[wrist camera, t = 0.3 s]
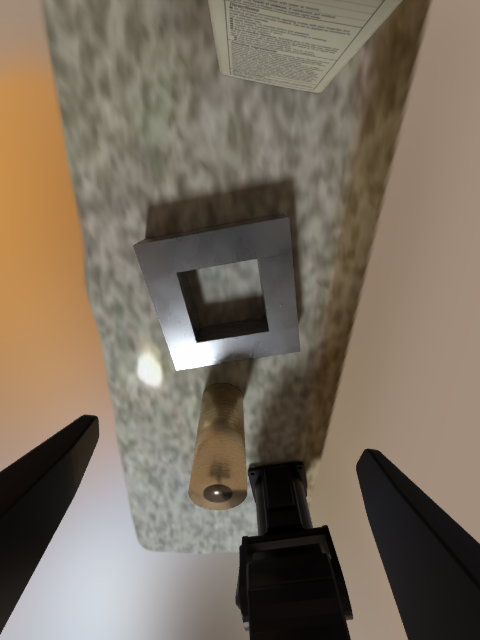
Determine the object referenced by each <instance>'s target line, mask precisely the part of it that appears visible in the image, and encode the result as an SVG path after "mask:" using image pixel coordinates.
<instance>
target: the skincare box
mask: <svg viewBox="0 0 480 640" xmlns="http://www.w3.org/2000/svg"><path fill="white" fill-rule="evenodd" d="M402 1H403V0H208V4H209V10H210V16H211V21H212V27H213V33H214V40H215V45H216V51H217V57H218V62H219V68H220V72H221V73H222V74H224V75H228V76H232V77H237V78H241V79H246V80H250V81H255V82H260V83H265V84H270V85H276V86H281V87H286V88H291V89H297V90H303V91H310V92H316V93H320V92H322V91H323V90H324V89H325V87H326V86H327V85H328V84H329V83H330V82H331V81H332V80H333V78H334V77H335V76H336V75H337V74H338V73H339V72H340V70H341V69H342V68H343V67H344V66H345V65H346V64H347V63H348V61H349V60H350V59H351V58H352V57H353V56H354V55H355V54H356V53H357V51H358V50H359V49H360V48H361V47H362V46H363V45H364V43H365V42H366V41H367V40H368V39H369V38H370V37H371V36H372V34H373V33H374V32H375V31H376V30H377V29H378V28H379V27H380V25H381V24H382V23H383V22H384V21H385V20H386V19H387V18H388V17H389V16H390V14H391V13H392V12H393V11H394V10H395V9H396V8H397V6H398V5H399V4H400V3H401V2H402Z"/></svg>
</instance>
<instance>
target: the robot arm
mask: <svg viewBox="0 0 480 640" xmlns="http://www.w3.org/2000/svg"><path fill="white" fill-rule="evenodd" d="M98 438H99V421H98V417H97V416H94V415H83V416H81V417H79V418H78V419H76V420H75V421H73V422H72V423H71V424H69V425H68V426H66V427H65V428H63V429H62V430H60V431H59V432H57V433H56V434H55V435H53V436H52V437H50V438H49V439H47V440H46V441H45V442H43V443H41V444H40V445H39V446H37V447H36V448H34V449H33V450H31V451H30V452H28V453H27V454H26V455H24V456H23V457H21V458H20V459H18V460H17V461H16V462H14V463H12V464H11V465H10V466H8V467H7V468H5V469H4V470H2V471H1V472H0V634H1V632H2V630H3V628H4V627H5V625H6V623H7V621H8V619H9V617H10V615H11V613H12V612H13V610H14V608H15V606H16V604H17V602H18V600H19V599H20V596H21V594H22V593H23V591H24V589H25V587H26V586H27V584H28V582H29V580H30V578H31V576H32V574H33V572H34V571H35V569H36V567H37V565H38V563H39V561H40V559H41V558H42V556H43V554H44V552H45V550H46V548H47V546H48V544H49V543H50V541H51V539H52V537H53V535H54V533H55V531H56V530H57V528H58V526H59V524H60V522H61V520H62V518H63V517H64V515H65V513H66V511H67V509H68V507H69V505H70V504H71V502H72V500H73V498H74V496H75V493H76V491H77V489H78V487H79V485H80V483H81V480H82V478H83V475H84V473H85V471H86V468H87V466H88V463H89V461H90V459H91V456H92V454H93V451H94V449H95V447H96V444H97V442H98ZM356 471H357V475H358V479H359V484H360V488H361V492H362V496H363V500H364V504H365V509H366V513H367V516H368V520H369V523H370V526H371V530H372V532H373V535H374V538H375V542H376V544H377V548H378V550H379V553H380V557H381V559H382V562H383V565H384V568H385V571H386V574H387V577H388V580H389V583H390V586H391V589H392V592H393V595H394V598H395V601H396V604H397V607H398V610H399V613H400V616H401V619H402V622H403V625H404V628H405V631H406V634H407V637H408V640H480V544H479V543H478V542H477V541H476V540H475V539H474V538H473V537H472V536H471V535H470V534H468V533H467V532H466V531H465V530H464V529H463V528H462V527H461V526H460V525H459V524H458V523H457V522H455V521H454V520H453V519H452V518H451V517H450V516H449V515H448V514H447V513H446V512H445V511H444V510H443V509H441V508H440V507H439V506H438V505H437V504H436V503H435V502H434V501H433V500H432V499H430V497H428V496H427V495H426V494H425V493H424V492H423V491H422V490H421V489H420V488H419V487H418V486H417V485H415V484H414V483H413V482H412V481H411V480H410V479H409V478H408V477H407V476H406V475H405V474H404V473H402V472H401V471H400V470H399V469H398V468H397V467H396V466H395V465H394V464H393V463H392V462H391V461H390V460H388V459H387V458H386V457H385V456H384V455H383V454H382V453H381V452H380V451H378V450H374V449H365V450H364V452H363V454H362V455H361V457H360V459H359V461H358V462H357V465H356ZM248 476H249V480H250V484H251V488H252V492H253V496H254V500H255V503H256V510H257V524H258V536H251V537H248V536H243V537H242V545H241V546H240V547H239V551H240V567H239V576H238V583H237V590H236V605H237V606H238V607H239V609H240V610H241V614H242V618H243V624H244V628H245V630H246V631H250V640H351V639H350V635H349V631H348V627H347V623H346V620H352V619H353V614H352V609H351V604H350V600H349V596H348V592H347V588H346V585H345V580H344V577H343V574H342V570H341V567H340V564H339V561H338V557H337V554H336V551H335V548H334V545H333V542H332V538H331V535H330V532H329V529H328V526H327V525H324V526H322V527H318V528H313V526H312V522H311V517H310V513H309V508H308V504H307V500H306V497H307V490H306V479H305V469H304V464H303V463H302V462H294V463H286V464H278V465H271V466H263V467H255V468H250V469H249V470H248Z"/></svg>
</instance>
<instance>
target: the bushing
mask: <svg viewBox="0 0 480 640" xmlns="http://www.w3.org/2000/svg"><path fill="white" fill-rule="evenodd" d="M188 494H189V497H190V499H191V500H192V501H193V502H194V503H195V504H196V505H198V506H200V507H202V508H205V509H210V510H225V509H230V508H233V507H236V506H238V505H239V504H241V503H242V502H243V501H244V500H245V498H246V496H247V477H246V454H245V432H244V410H243V395H242V393H241V391H240V390H239V389H238V388H237V387H235V386H233V385H231V384H227V383H218V384H214V385H212V386H210V387H208V388H207V389H206V390H205V392H204V393H203V397H202V404H201V410H200V417H199V424H198V430H197V437H196V444H195V451H194V457H193V464H192V471H191V477H190V484H189V491H188Z"/></svg>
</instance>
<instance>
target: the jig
mask: <svg viewBox="0 0 480 640" xmlns="http://www.w3.org/2000/svg"><path fill="white" fill-rule="evenodd" d="M133 247H134V249H135V252H136V255H137V258H138V261H139V264H140V267H141V270H142V272H143V275H144V278H145V281H146V284H147V287H148V290H149V293H150V296H151V298H152V301H153V304H154V307H155V310H156V313H157V316H158V319H159V321H160V324H161V327H162V330H163V333H164V336H165V339H166V342H167V345H168V347H169V350H170V353H171V356H172V359H173V362H174V365H175V368H176V370H181V369H188V368H194V367H201V366H207V365H214V364H220V363H227V362H233V361H240V360H246V359H253V358H259V357H266V356H272V355H279V354H285V353H292V352H298V351H300V342H299V329H298V317H297V305H296V292H295V280H294V267H293V255H292V243H291V230H290V218H289V216H287V215H285V214H283V213H282V214H277V215H272V216H266V217H261V218H255V219H250V220H244V221H239V222H234V223H228V224H223V225H217V226H212V227H206V228H201V229H196V230H190V231H185V232H179V233H174V234H168V235H163V236H158V237H152V238H147V239H144V240H142V241H140V242H138V243H137V244H135V245H133ZM252 259H257V261H258V268H259V275H260V282H261V289H262V296H263V303H264V310H265V317H262V318H256V319H250V320H244V321H238V322H232V323H225V324H219V325H213V326H207V327H201V328H200V325H199V321H198V318H197V314H196V310H195V307H194V303H193V299H192V296H191V292H190V288H189V285H188V281H187V277H186V274H185V271H189V270H195V269H201V268H206V267H212V266H218V265H223V264H229V263H235V262H240V261H246V260H252Z"/></svg>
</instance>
